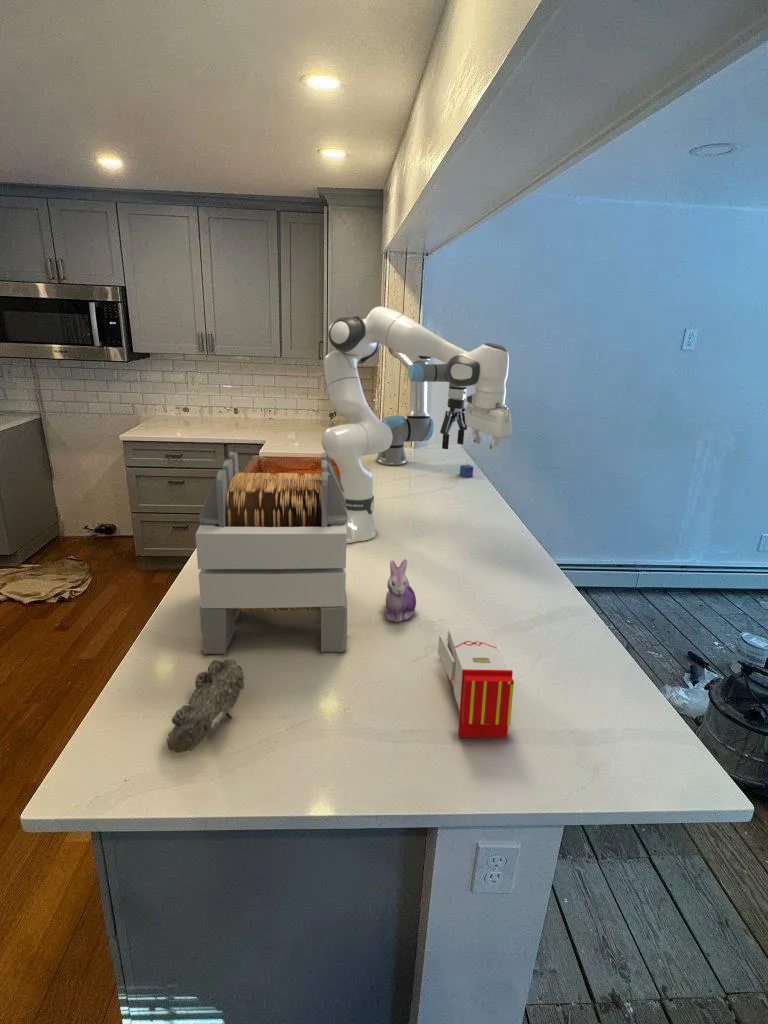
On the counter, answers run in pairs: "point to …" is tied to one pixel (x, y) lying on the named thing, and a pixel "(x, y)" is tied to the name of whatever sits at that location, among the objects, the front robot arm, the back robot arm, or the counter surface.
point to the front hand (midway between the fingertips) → (484, 446)
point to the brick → (466, 471)
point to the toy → (478, 682)
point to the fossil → (206, 705)
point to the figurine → (399, 594)
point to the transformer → (272, 550)
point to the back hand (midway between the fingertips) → (452, 446)
